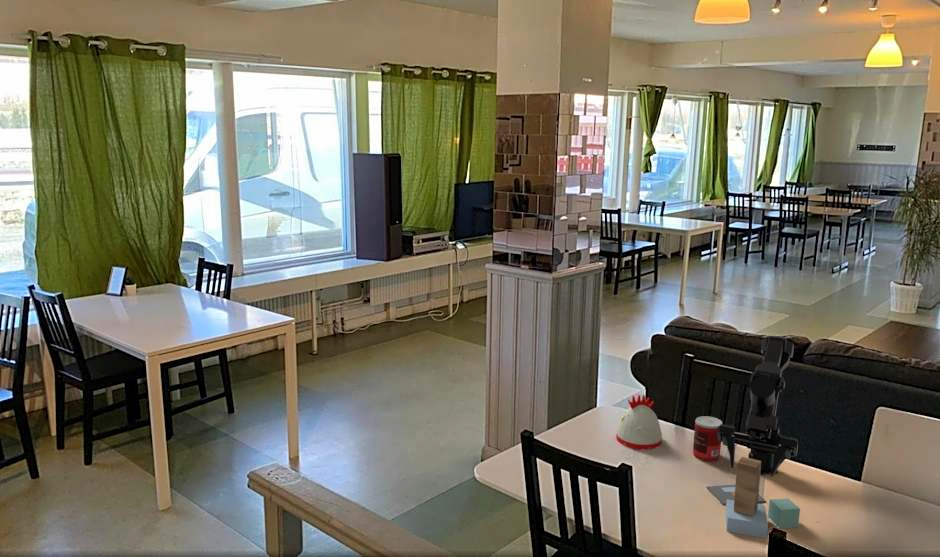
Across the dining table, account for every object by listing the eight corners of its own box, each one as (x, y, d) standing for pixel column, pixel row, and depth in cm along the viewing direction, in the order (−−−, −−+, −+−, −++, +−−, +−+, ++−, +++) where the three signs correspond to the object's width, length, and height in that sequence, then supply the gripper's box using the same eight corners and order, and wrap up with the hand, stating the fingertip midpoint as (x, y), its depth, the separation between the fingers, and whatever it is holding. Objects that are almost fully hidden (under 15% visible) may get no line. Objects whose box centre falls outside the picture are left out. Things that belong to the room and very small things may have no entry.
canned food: (721, 452, 212) (724, 418, 209) (718, 463, 205) (721, 428, 202) (694, 447, 215) (697, 414, 213) (690, 458, 208) (693, 423, 206)
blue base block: (725, 513, 178) (726, 499, 178) (763, 520, 176) (765, 505, 175) (726, 532, 170) (727, 517, 169) (766, 539, 167) (768, 524, 167)
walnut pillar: (738, 503, 176) (742, 456, 174) (757, 509, 173) (761, 461, 171) (733, 510, 172) (737, 462, 170) (752, 516, 169) (756, 467, 167)
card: (747, 485, 192) (747, 483, 192) (765, 502, 183) (765, 500, 183) (706, 487, 191) (706, 486, 190) (722, 504, 182) (722, 503, 182)
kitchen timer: (610, 431, 226) (613, 387, 223) (651, 430, 228) (654, 386, 225) (624, 450, 213) (627, 404, 210) (668, 448, 214) (671, 402, 211)
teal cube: (786, 516, 177) (788, 498, 176) (797, 527, 172) (800, 508, 171) (767, 517, 176) (769, 499, 175) (779, 528, 171) (781, 509, 170)
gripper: (721, 394, 179) (709, 451, 172) (801, 408, 170) (793, 469, 163) (724, 412, 187) (713, 467, 180) (800, 426, 179) (792, 485, 171)
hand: (751, 472), depth 173 cm, fingers open, 9 cm apart
